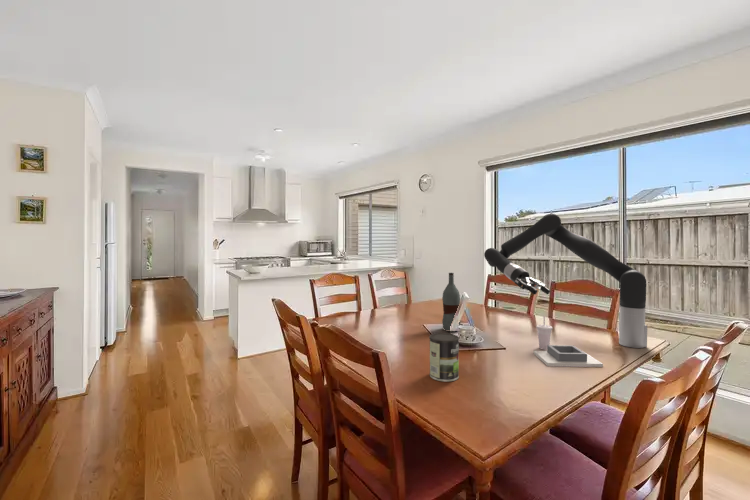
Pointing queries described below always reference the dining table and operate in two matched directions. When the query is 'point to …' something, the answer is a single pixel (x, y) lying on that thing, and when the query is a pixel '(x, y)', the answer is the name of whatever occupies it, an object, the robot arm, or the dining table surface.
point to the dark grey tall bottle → (450, 302)
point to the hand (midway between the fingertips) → (542, 292)
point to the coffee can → (444, 357)
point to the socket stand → (566, 357)
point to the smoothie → (544, 335)
